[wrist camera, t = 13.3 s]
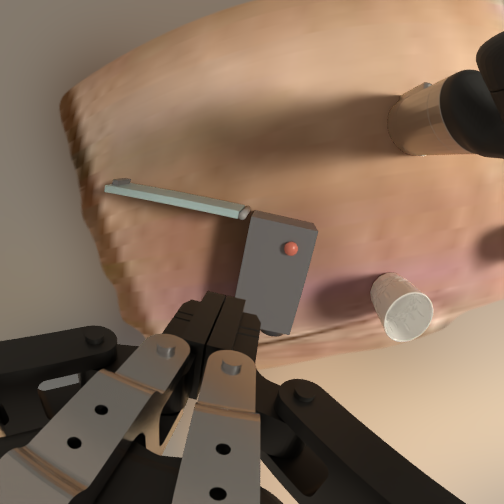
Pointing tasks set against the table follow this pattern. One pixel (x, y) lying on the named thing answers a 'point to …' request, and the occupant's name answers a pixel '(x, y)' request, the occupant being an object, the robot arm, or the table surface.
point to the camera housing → (275, 269)
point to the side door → (178, 198)
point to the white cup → (401, 307)
